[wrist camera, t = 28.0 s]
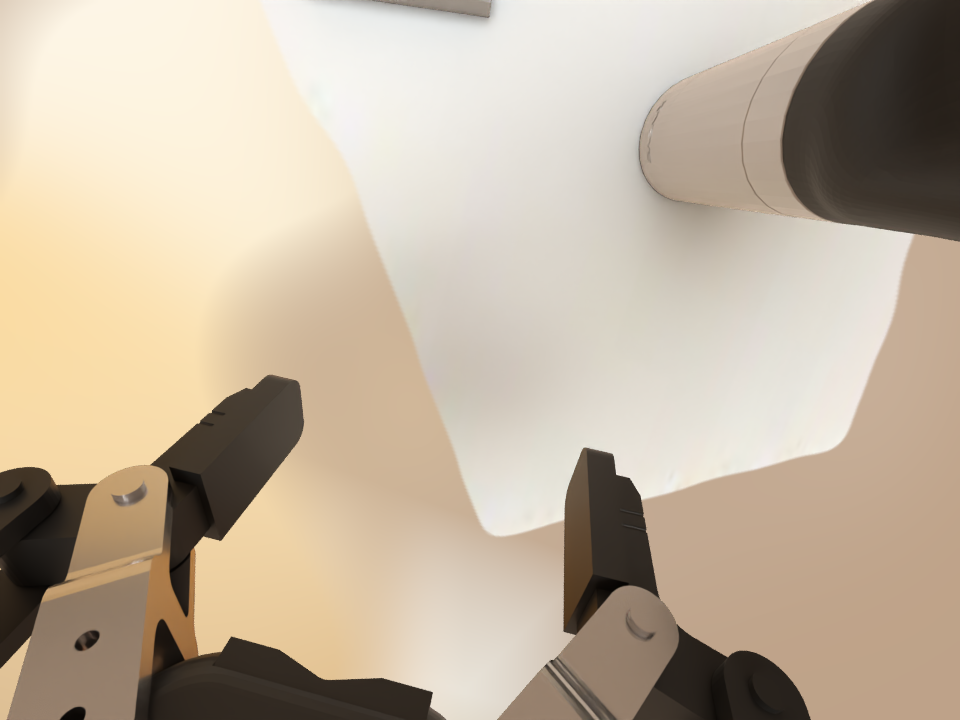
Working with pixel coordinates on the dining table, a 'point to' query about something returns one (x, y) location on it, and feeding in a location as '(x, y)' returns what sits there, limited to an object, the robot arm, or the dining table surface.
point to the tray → (450, 5)
